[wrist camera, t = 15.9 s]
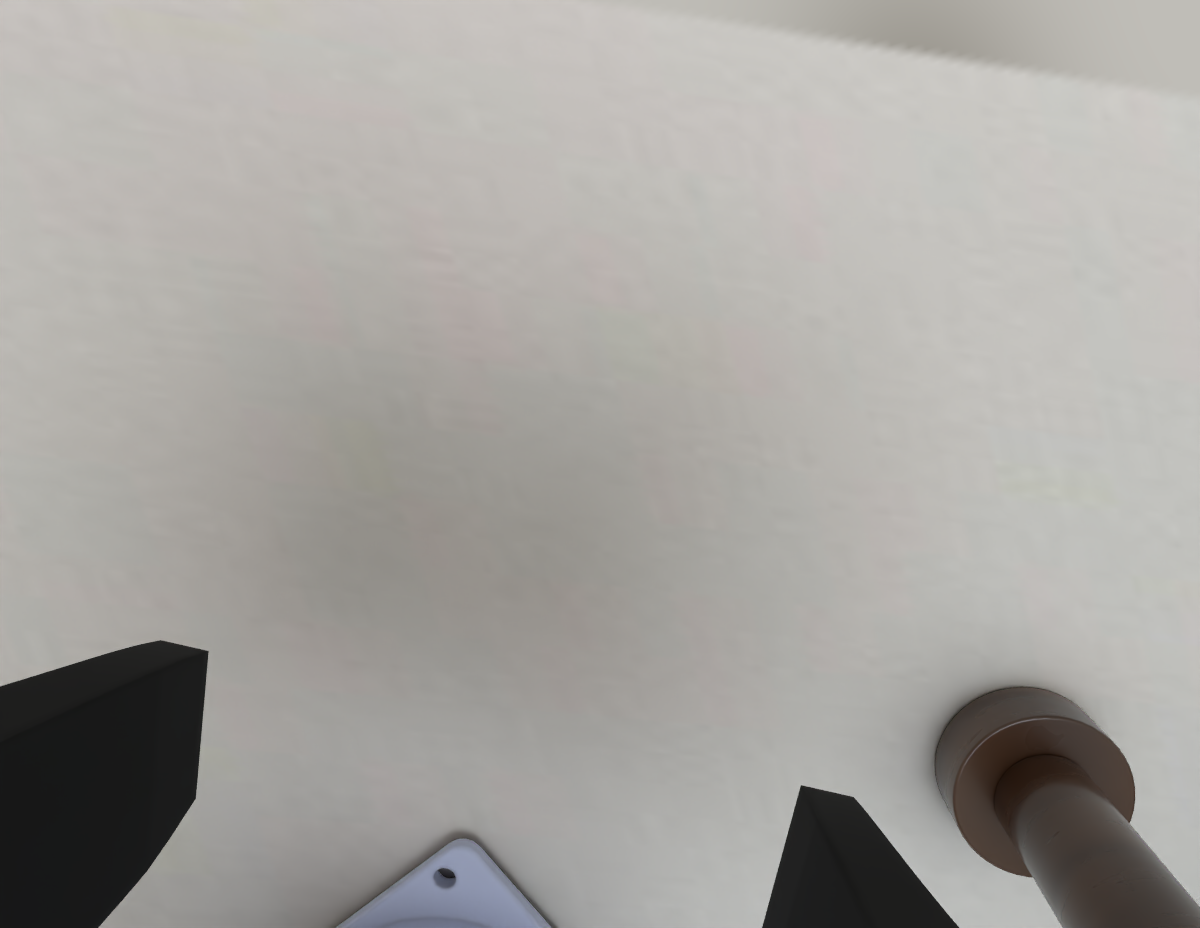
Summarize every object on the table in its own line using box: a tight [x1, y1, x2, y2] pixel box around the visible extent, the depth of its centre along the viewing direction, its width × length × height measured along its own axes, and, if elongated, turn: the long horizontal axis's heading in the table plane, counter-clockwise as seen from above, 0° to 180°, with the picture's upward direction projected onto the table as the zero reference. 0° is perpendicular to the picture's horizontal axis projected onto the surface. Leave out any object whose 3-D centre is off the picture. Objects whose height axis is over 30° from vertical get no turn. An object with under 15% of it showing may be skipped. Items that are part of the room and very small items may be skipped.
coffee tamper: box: [935, 687, 1200, 928], centre depth 17 cm, size 4×4×8 cm
